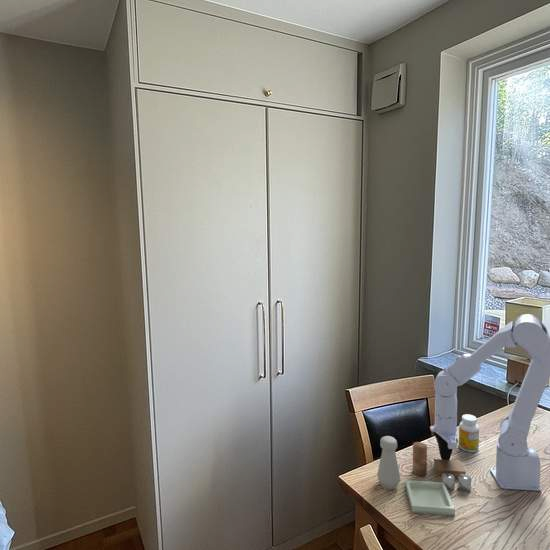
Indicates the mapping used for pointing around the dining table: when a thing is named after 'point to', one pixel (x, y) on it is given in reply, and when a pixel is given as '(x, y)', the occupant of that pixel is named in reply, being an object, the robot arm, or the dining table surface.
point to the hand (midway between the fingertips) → (445, 458)
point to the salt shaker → (388, 464)
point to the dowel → (419, 459)
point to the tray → (429, 498)
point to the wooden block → (448, 467)
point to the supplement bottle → (469, 433)
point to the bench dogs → (463, 482)
